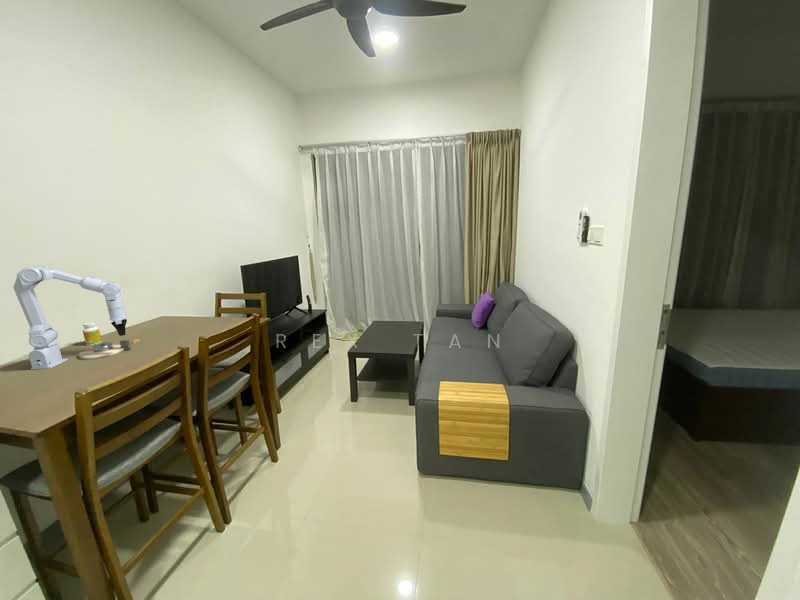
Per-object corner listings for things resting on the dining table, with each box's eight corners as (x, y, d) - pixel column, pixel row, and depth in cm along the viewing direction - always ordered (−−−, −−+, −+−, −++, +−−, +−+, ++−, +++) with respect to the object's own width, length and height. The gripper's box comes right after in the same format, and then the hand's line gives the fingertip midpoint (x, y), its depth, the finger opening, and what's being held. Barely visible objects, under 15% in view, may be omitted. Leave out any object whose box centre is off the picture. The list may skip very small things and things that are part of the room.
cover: (106, 351, 153) (105, 345, 153) (90, 352, 152) (88, 346, 151) (116, 346, 160) (115, 340, 159) (100, 347, 159) (98, 341, 158)
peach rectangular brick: (133, 343, 168) (133, 341, 168) (132, 343, 168) (131, 340, 168) (140, 341, 171) (139, 339, 170) (138, 341, 171) (138, 338, 171)
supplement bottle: (94, 345, 167) (89, 325, 164) (82, 346, 167) (77, 325, 164) (105, 341, 173) (100, 321, 170) (94, 341, 173) (89, 321, 170)
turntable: (117, 357, 150) (115, 347, 149) (68, 361, 147) (65, 351, 146) (141, 343, 167) (138, 334, 166) (97, 347, 164) (95, 337, 163)
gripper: (126, 309, 149) (133, 336, 152) (126, 304, 160) (132, 329, 163) (106, 312, 145) (113, 340, 148) (107, 306, 156) (114, 333, 159)
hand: (122, 335), depth 155 cm, fingers closed
